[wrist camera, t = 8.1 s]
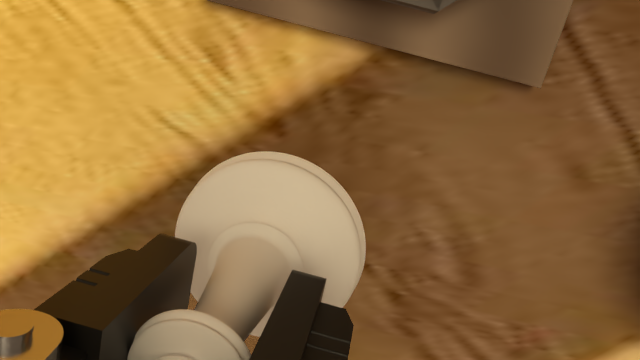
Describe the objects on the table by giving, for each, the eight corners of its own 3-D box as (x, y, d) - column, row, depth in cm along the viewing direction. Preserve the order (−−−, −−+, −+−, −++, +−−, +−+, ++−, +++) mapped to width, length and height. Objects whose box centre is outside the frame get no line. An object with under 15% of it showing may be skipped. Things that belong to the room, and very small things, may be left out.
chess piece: (221, 117, 13) (-239, 325, 4) (399, 205, 13) (389, 644, 4) (157, 277, 15) (-291, 715, 5) (317, 357, 15) (156, 953, 5)
